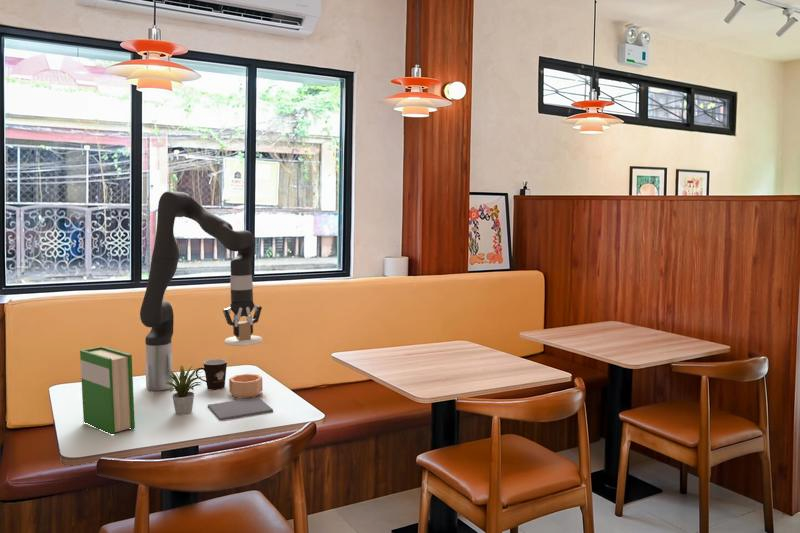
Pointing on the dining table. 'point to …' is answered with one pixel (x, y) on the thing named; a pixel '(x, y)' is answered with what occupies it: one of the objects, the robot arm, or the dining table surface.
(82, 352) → the hardback book
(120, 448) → the dining table surface
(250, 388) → the bowl
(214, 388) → the coffee mug
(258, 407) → the mat
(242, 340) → the lid
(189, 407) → the house plant
